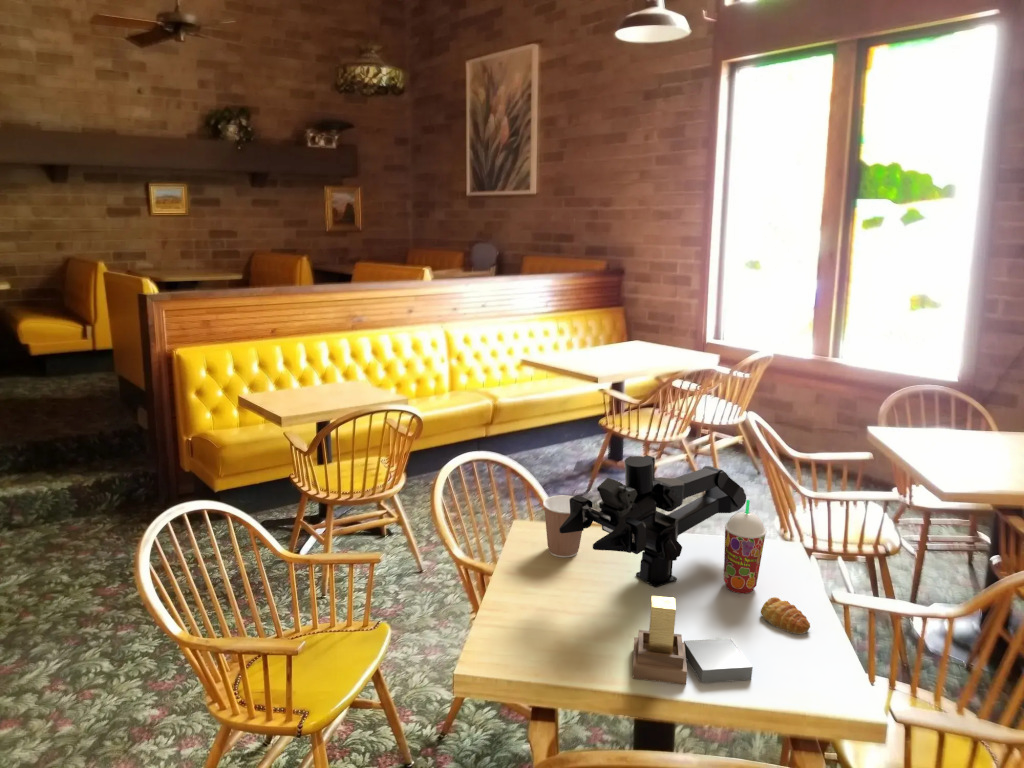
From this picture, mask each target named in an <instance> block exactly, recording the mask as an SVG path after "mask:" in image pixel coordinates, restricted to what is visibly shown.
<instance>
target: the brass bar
mask: <svg viewBox="0 0 1024 768" xmlns="http://www.w3.org/2000/svg"><path fill="white" fill-rule="evenodd" d="M650 601H651V603H650V613H649V614H650V615H649V627H648V628H649V629H648V631H649V642H648V652H653V653H662V654H671V655H672V651H673V639H674V634H675V625H676V623H675V622H676V612H677V611H676V610H677V608H676V606H677V605H676V598H675V597H669V596H659V595H651V600H650Z"/></svg>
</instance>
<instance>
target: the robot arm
mask: <svg viewBox="0 0 1024 768" xmlns="http://www.w3.org/2000/svg"><path fill="white" fill-rule="evenodd" d="M655 465H656V458H655V457H653V456H651V455H649V454H646V455H645V456H644V455H640V456H639V455H635V456H628V457H626V458H625V459H624V478H625V480H624V481H625V482H624V483H625V484H623V483H622V482H621V481H619V480H615V479H614V478H611V477H606V479H604V480H603V481H602V482H601V483H600V484H599V485H598V486H597V487H596V489H597V492H598V494H599V496H600V499H601V501H599V502H598V504H599V505H598V508H599V509H600V511H599V510H597V509H595V508H594V506H593V502H592V501H591V500H590V499H588V498H586V497H583V496H581V495H579V494H576V495H574V497H572V498H570V516H569V517H568V518H567V520H566V521H565V522H564V523H563V524H562V526H561V527H560V528H559V531H560V533H570V532H578V531H582V532H583V531H584V529H588V528H590V527H591V526H592V524H593V522H594V523H596V524H598V525H600V526H601V530H602V531H604V532H606V533H607V534H606V535H604V536H602V537H601V538H599V539H598V540H596V541H595V542H594V543H592V550H594V551H611V552H622V553H623V552H624V553H628V554H631V553H633V554H634V555H638V554H640V553H642V554H641V559H640V565H639V567H640V569H639V571H637V572H636V573H635V576H636V577H638V578H639V579H641V580H642V581H644V582H646V583H647V584H649V585H651V586H652V587H655V588H658V587H661V586H663V585H667V584H670V583H673V582H676V581H677V577H676V576H674V575H673V562H674V561H677V560H678V558H679V557H680V556H681V553H682V550H683V546H682V545H681V544H680V543H679V541H678V537H679V536H680V535H682V534H683V533H685V532H687V531H688V530H690V529H692V528H693V527H696V526H698V525H699V524H701V523H702V522H704V521H706V520H708V519H709V518H711V517H713V516H715V515H717V514H732V513H736V512H737V511H738V512H739V511H740V510H741V509H742V508H743V507H744V505H746V502H747V495H746V492H745V489H744V487H741V485H740V484H738V483H737V482H736V481H735V480H734V479H732V478H731V477H730V476H729V475H728V473H727V472H726V471H724V470H723V469H721V468H718V467H714V466H712V465H707V466H706V465H705V466H703V467H702V469H701V468H700V469H698V470H695V471H692V472H689V473H687V474H683V475H679V476H677V477H672V478H671V477H655V476H656V475H655ZM701 493H704V494H703V495H702V496H700V497H698V498H696V499H694V500H692V501H691V502H688V503H687V504H685V505H683V502H684V500H685V499H688V498H690V497H693V496H694V495H697V494H701ZM682 505H683V506H682ZM680 506H681V507H680ZM679 507H680V508H679ZM657 508H658V509H660V510H663V511H665V512H668V514H665V513H662V512H660V511H657ZM669 512H671V513H669Z"/></svg>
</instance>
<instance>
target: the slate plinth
mask: <svg viewBox="0 0 1024 768" xmlns="http://www.w3.org/2000/svg"><path fill="white" fill-rule="evenodd" d="M683 643H685V654H686V662H688V664H689V665H690V667H691V669H692V670H693V672H694V673H695V675H696V677H697V678H698V679H699V681H700V682H701V684H708V683H720V682H722V683H723V682H736V681H750V680H751V681H752V677H753V676H752V674H753V665H752V664H751V663H750V662H749V660H748V659H747V658H746V656H745V655H744V654H743V652H742V651H741V649H740V648H739V647H738V646H737V644H736V643H735V642H734V641H733V639H732V638H731V637H727V638H726V637H723V638H709V639H706V638H705V639H695V640H694V639H693V640H683Z"/></svg>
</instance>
